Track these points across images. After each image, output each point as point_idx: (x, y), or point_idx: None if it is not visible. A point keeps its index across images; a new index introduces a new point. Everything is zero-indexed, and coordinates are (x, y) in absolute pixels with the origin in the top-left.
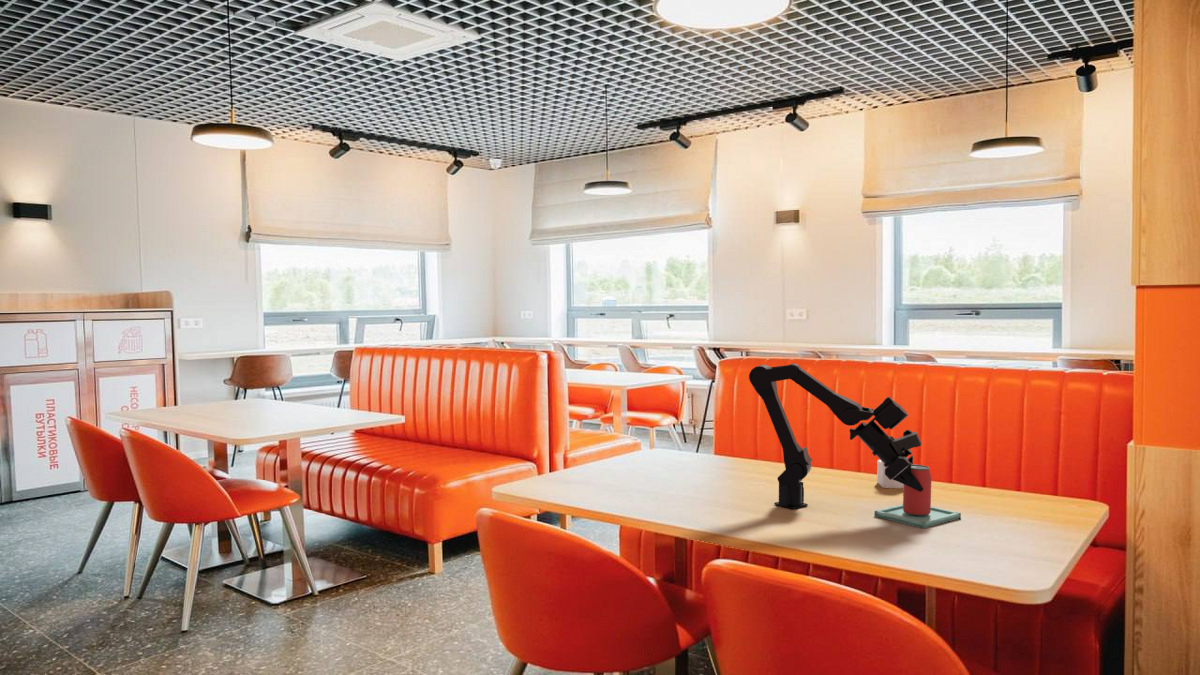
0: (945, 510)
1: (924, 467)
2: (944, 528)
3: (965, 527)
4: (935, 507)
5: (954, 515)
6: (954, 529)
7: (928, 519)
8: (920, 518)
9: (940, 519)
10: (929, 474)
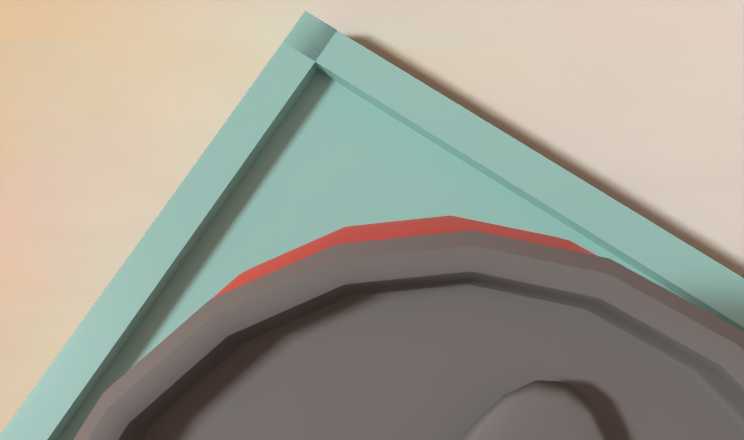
0: (247, 144)
1: (251, 416)
2: (737, 173)
3: (617, 5)
4: (150, 237)
5: (396, 69)
6: (732, 92)
7: None
8: None
9: (600, 196)
10: (596, 255)
